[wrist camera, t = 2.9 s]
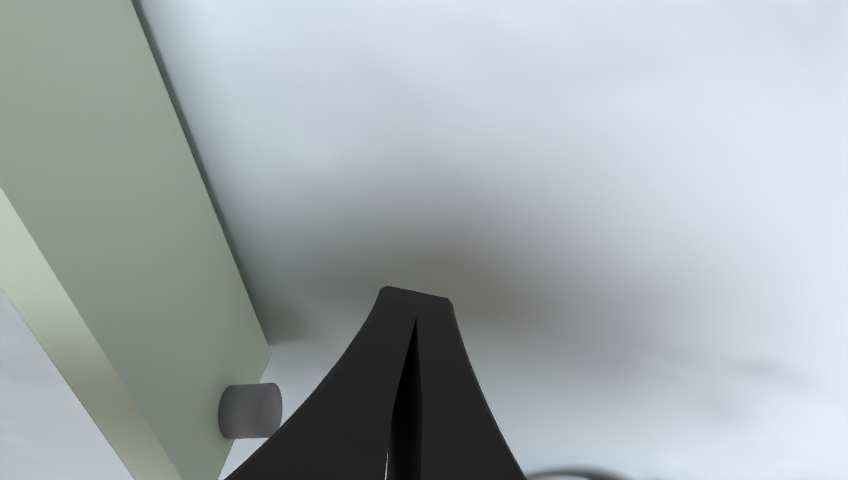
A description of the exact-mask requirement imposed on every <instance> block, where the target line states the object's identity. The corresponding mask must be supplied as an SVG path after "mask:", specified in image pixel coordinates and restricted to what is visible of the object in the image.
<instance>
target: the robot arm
mask: <svg viewBox="0 0 848 480" xmlns="http://www.w3.org/2000/svg"><path fill="white" fill-rule="evenodd" d="M388 446H389V447H388ZM387 454H388V463H387ZM386 463H387V479H386V480H527V479H526V477H525V476H524V474H523V472H522V470H521V469H520V467H519V465H518V463H517V462H516V460H515V458H514V456H513V454H512V453H511V451H510V449H509V447H508V445H507V443H506V441H505V439H504V437H503V435H502V433H501V431H500V430H499V427H498V425H497V423H496V421H495V419H494V417H493V415H492V413H491V411H490V409H489V407H488V404H487V402H486V400H485V397H484V395H483V393H482V391H481V388H480V386H479V383H478V381H477V378H476V376H475V373H474V371H473V368H472V366H471V363H470V361H469V358H468V355H467V353H466V350H465V347H464V344H463V341H462V338H461V335H460V332H459V328H458V325H457V322H456V318H455V314H454V310H453V305H452V303H451V302H450V300H449V299H448V298H444V297H439V296H434V295H429V294H424V293H420V292H415V291H410V290H405V289H400V288H396V287H391V286H386V287H384V288H382V289H380V292H379V295H378V298H377V300H376V302H375V305H374V307H373V309H372V311H371V312H370V314H369V316H368V318H367V319H366V321H365V323H364V324H363V326H362V328H361V329H360V331H359V332H358V334H357V335H356V337H355V338H354V339H353V341H352V342H351V344H350V345H349V347H348V348H347V350H346V351H345V352H344V354H343V355H342V357H341V358H340V359H339V361H338V362H337V363H336V364H335V366H334V367H333V368H332V369H331V371H330V372H329V373H328V374H327V376H326V377H325V378H324V379H323V380H322V382H321V383H320V384H319V385H318V387H317V388H316V389H315V390H314V391H313V393H312V394H311V395H310V396H309V397H308V398H307V399H306V401H305V402H304V403H303V404H302V405H301V406H300V407H299V408H298V409H297V410H296V412H295V413H294V414H293V415H292V416H291V417H290V418H289V419H288V420H287V421H286V422H285V423H284V424H283V425H282V426H281V427H280V428H279V429H278V430H277V431H276V432H275V433H274V434H273V435H272V436H271V437H270V438H269V439H268V440H267V441H266V442H265V443H264V444H263V445H262V446H261V447H259V448H258V449H257V450H256V451H255V452H254V453H253V454H252V455H251V456H250V457H249V458H248V459H247V460H246V461H245V462H244V463H242V464H241V465H240V466H239V467H238V468H237V469H236V470H235V471H233V472H232V473H231V474H230V475H229V476H228V477H227V478H225V479H224V480H385V472H386Z"/></svg>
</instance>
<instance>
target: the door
mask: <svg viewBox="0 0 848 480" xmlns="http://www.w3.org/2000/svg"><path fill="white" fill-rule="evenodd" d="M0 288H1V289H2V290H3V292H4V293H5V295H6V296H7V298H8V299H9V300H10V302H11V303H12V305H13V306H14V308H15V309H16V311H17V312H18V313H19V315H20V316H21V318H22V319H23V321H24V322H25V323H26V325H27V326H28V328H29V329H30V331H31V332H32V333H33V335H34V336H35V338H36V339H37V341H38V342H39V343H40V345H41V346H42V348H43V349H44V351H45V352H46V353H47V355H48V356H49V358H50V359H51V361H52V362H53V363H54V365H55V366H56V368H57V369H58V371H59V372H60V374H61V375H62V376H63V378H64V379H65V381H66V382H67V384H68V385H69V386H70V388H71V389H72V391H73V392H74V394H75V395H76V396H77V398H78V399H79V401H80V402H81V404H82V405H83V406H84V408H85V409H86V411H87V412H88V414H89V415H90V416H91V418H92V419H93V421H94V422H95V424H96V425H97V426H98V428H99V429H100V431H101V432H102V434H103V435H104V437H105V438H106V439H107V441H108V442H109V444H110V445H111V447H112V448H113V449H114V451H115V452H116V454H117V455H118V457H119V458H120V459H121V461H122V462H123V464H124V465H125V467H126V468H127V469H128V471H129V472H130V474H131V475H132V477H133V478H134V479H135V480H218V477H219V475H220V473H221V470H222V468H223V466H224V463H225V461H226V459H227V456H228V454H229V452H230V449H231V447H232V445H233V442H234V440H235V439H243V438H270V437H271V436H272V435H273V434H274V433H275V432H276V431H277V430H278V429H279V426H280V423H281V418H282V397H281V393H280V390H279V388H278V386H277V385H276V384H275V383H263V384H259V382H260V380H261V377H262V375H263V373H264V370H265V368H266V366H267V363H268V361H269V359H270V356H271V351H270V349H269V346H268V344H267V341H266V339H265V336H264V334H263V331H262V329H261V326H260V324H259V321H258V319H257V316H256V314H255V311H254V309H253V306H252V303H251V301H250V298H249V296H248V293H247V291H246V288H245V286H244V283H243V281H242V278H241V276H240V273H239V271H238V268H237V266H236V263H235V261H234V258H233V256H232V253H231V251H230V248H229V246H228V243H227V241H226V238H225V236H224V233H223V231H222V228H221V225H220V223H219V220H218V218H217V215H216V213H215V210H214V208H213V205H212V203H211V200H210V198H209V195H208V193H207V190H206V188H205V185H204V183H203V180H202V178H201V175H200V173H199V170H198V168H197V165H196V163H195V160H194V158H193V155H192V153H191V150H190V147H189V145H188V142H187V140H186V137H185V135H184V132H183V130H182V127H181V125H180V122H179V120H178V117H177V115H176V112H175V110H174V107H173V105H172V102H171V100H170V97H169V95H168V92H167V90H166V87H165V85H164V82H163V80H162V77H161V75H160V72H159V69H158V67H157V64H156V62H155V59H154V57H153V54H152V52H151V49H150V47H149V44H148V42H147V39H146V37H145V34H144V32H143V29H142V27H141V24H140V22H139V19H138V17H137V14H136V12H135V9H134V7H133V4H132V2H131V0H0Z"/></svg>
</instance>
